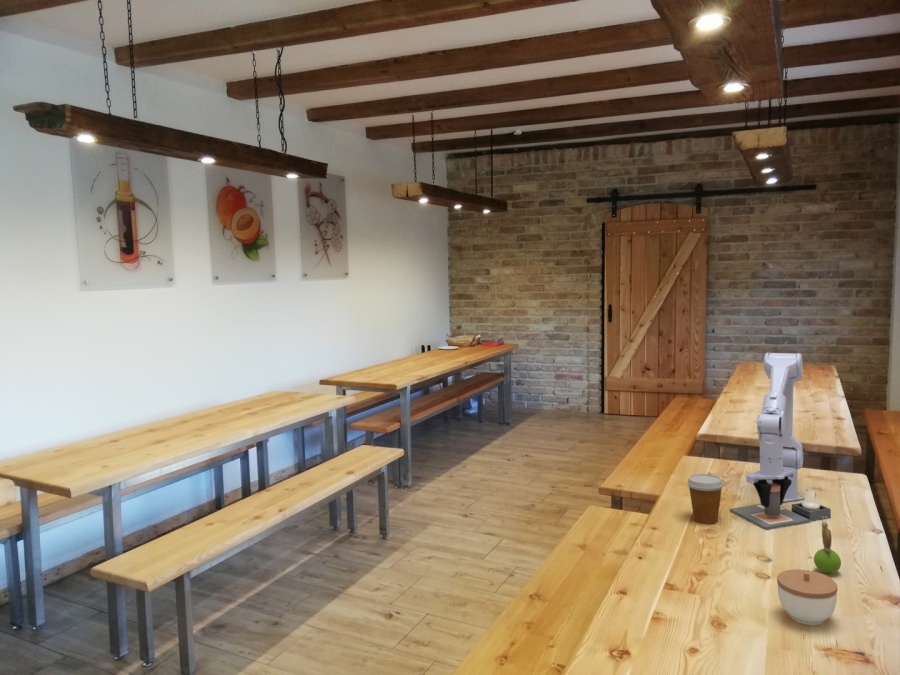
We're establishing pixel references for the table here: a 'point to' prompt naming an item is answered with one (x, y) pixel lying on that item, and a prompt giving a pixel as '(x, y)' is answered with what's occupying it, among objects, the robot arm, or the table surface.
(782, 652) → the table surface
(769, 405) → the robot arm
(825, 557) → the green tan bulb piece
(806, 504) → the button
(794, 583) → the lidded jar
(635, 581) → the table surface
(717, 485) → the disposable coffee cup
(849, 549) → the table surface
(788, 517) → the picture board
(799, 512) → the button housing
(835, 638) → the table surface
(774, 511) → the grey canister
